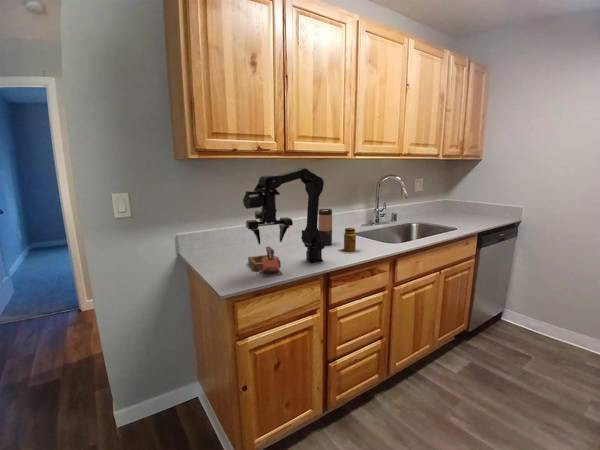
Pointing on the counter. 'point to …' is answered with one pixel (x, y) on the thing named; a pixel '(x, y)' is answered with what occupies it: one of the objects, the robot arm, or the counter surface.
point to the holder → (257, 262)
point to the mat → (270, 275)
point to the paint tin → (270, 262)
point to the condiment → (349, 241)
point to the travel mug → (325, 226)
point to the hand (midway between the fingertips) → (270, 243)
